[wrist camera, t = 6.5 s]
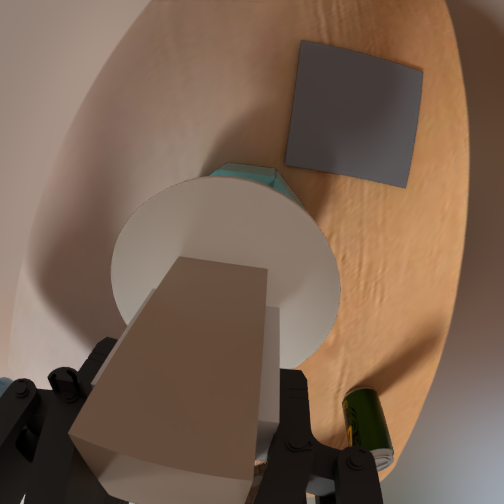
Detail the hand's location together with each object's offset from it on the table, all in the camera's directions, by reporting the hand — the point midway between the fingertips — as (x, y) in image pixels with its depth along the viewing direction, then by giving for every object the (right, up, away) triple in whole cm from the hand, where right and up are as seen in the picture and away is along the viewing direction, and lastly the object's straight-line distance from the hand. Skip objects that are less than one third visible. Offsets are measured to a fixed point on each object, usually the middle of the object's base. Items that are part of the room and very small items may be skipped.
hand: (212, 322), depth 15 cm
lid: (0, +1, +3) cm, 3 cm away
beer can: (+17, -17, +24) cm, 34 cm away
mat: (+12, +16, +10) cm, 22 cm away
